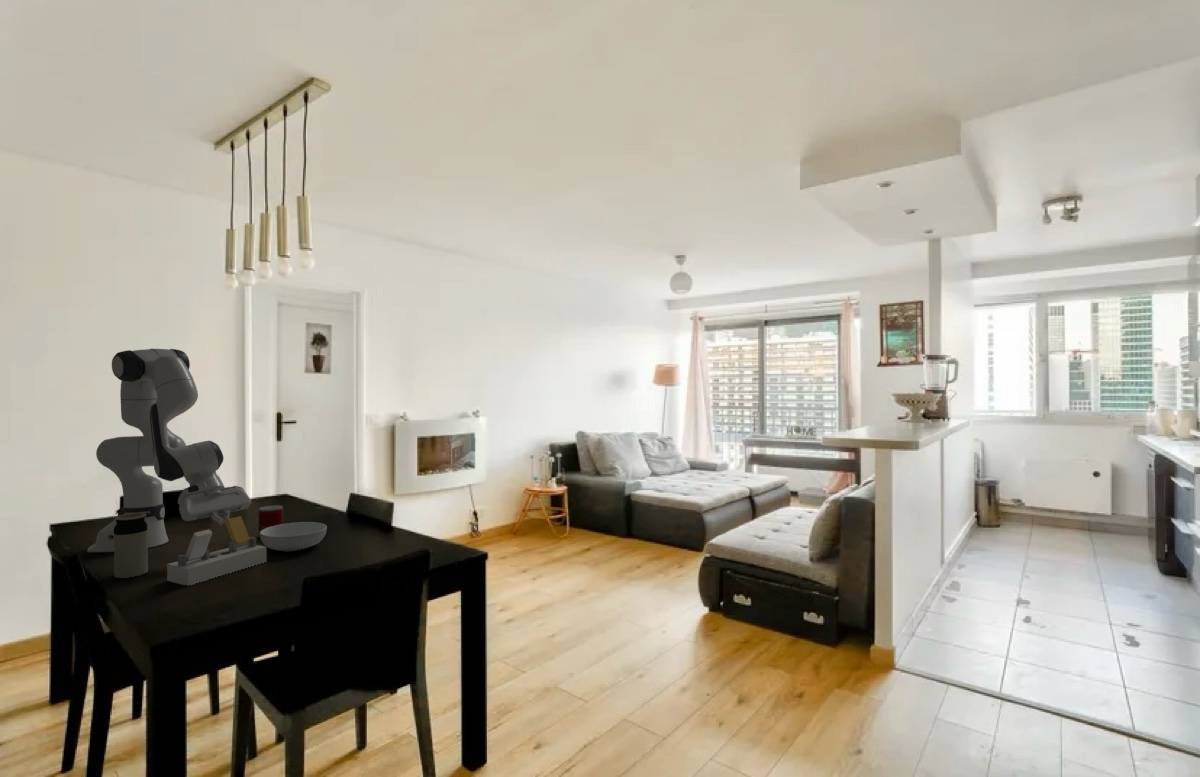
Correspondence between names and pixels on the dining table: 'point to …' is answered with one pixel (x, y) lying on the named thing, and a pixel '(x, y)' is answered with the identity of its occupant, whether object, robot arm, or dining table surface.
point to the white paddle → (198, 545)
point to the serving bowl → (293, 535)
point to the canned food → (270, 516)
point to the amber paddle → (238, 531)
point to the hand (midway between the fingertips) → (225, 523)
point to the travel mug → (130, 545)
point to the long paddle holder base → (215, 563)
